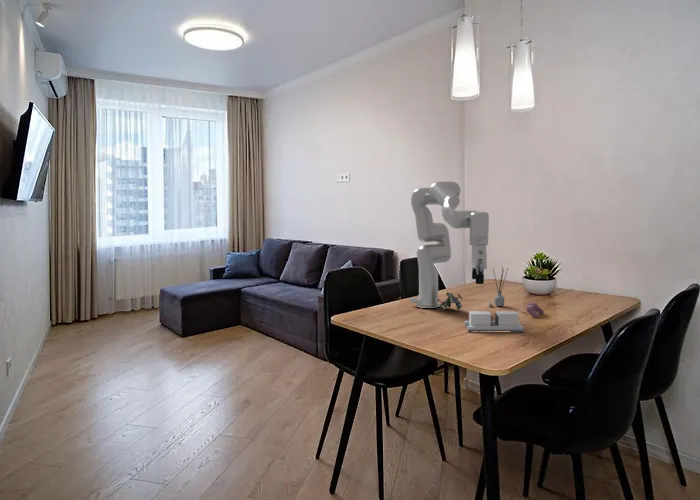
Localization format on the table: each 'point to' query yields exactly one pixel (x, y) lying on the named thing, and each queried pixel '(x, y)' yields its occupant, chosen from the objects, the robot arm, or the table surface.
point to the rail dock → (501, 323)
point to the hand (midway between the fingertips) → (477, 281)
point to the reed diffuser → (499, 298)
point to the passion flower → (451, 301)
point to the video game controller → (534, 309)
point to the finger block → (480, 318)
